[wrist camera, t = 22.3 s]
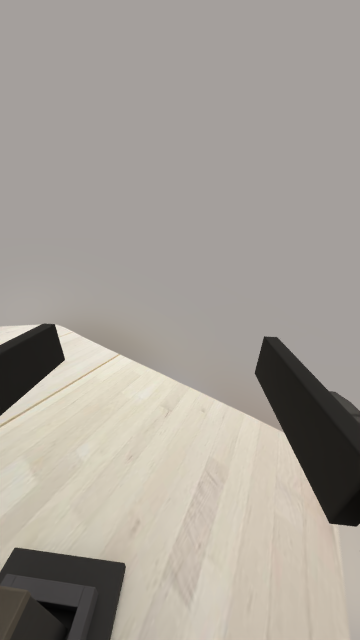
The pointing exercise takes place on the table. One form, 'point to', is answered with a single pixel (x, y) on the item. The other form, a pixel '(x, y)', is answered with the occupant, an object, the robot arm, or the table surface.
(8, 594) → the dark capped pillar
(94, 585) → the pad
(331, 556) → the table surface
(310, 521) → the table surface
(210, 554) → the table surface
